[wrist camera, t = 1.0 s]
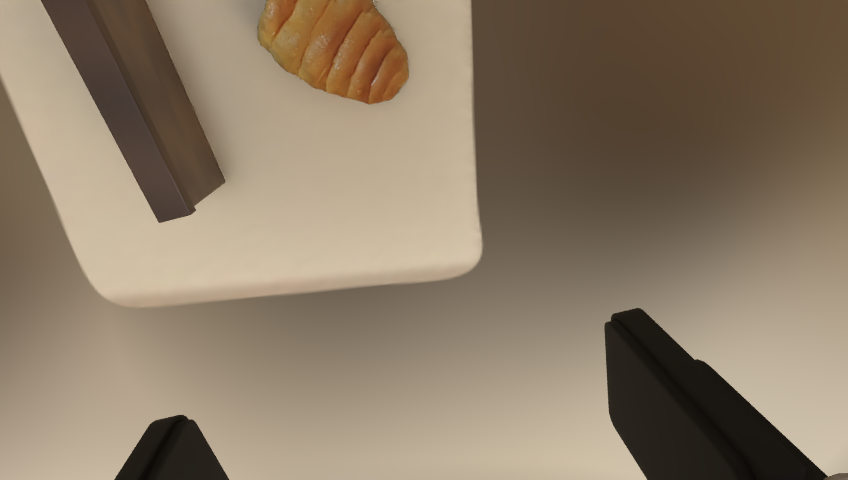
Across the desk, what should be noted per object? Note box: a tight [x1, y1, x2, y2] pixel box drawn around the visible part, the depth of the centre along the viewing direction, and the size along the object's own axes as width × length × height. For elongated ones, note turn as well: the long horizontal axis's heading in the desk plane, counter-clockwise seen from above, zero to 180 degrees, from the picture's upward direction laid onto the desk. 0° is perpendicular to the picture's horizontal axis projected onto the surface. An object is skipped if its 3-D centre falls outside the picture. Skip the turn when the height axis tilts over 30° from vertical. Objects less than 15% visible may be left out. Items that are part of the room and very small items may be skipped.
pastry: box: [258, 0, 409, 104], centre depth 27 cm, size 9×7×4 cm
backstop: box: [41, 0, 225, 223], centre depth 25 cm, size 14×5×7 cm, turn 13°
